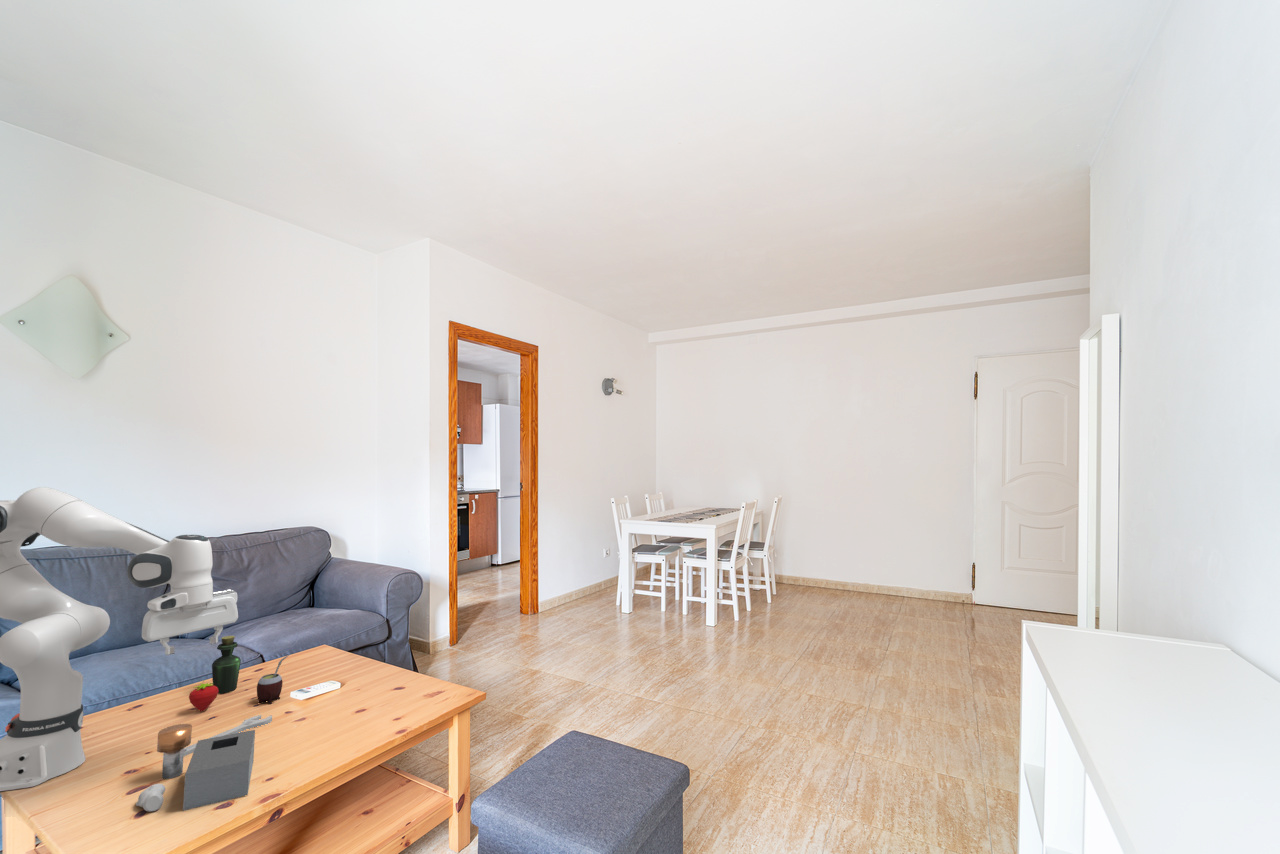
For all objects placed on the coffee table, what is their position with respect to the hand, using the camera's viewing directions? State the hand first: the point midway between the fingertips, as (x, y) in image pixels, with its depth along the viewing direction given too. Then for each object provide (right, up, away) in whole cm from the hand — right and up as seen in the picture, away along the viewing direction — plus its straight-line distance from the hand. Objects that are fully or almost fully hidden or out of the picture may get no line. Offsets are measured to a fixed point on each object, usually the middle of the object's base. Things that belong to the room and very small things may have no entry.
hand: (192, 648), depth 150 cm
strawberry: (-19, -31, +28) cm, 46 cm away
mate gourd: (-3, -32, +37) cm, 49 cm away
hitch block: (+16, -28, -12) cm, 35 cm away
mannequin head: (+7, -28, -21) cm, 36 cm away
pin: (+1, -29, -8) cm, 30 cm away
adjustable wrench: (-1, -31, +12) cm, 33 cm away
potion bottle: (-25, -32, +45) cm, 61 cm away
